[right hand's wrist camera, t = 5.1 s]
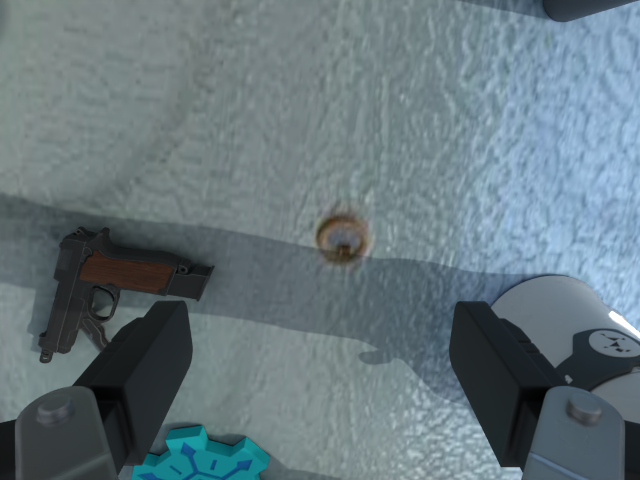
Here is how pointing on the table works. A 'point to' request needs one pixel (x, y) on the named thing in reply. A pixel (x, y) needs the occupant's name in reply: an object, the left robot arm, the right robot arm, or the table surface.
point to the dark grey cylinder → (579, 8)
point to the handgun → (109, 284)
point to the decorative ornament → (202, 459)
